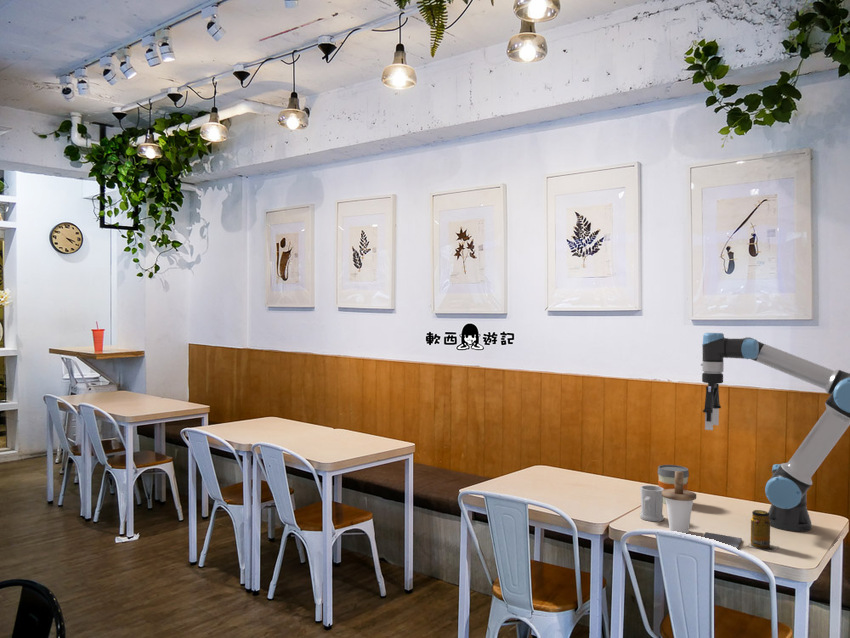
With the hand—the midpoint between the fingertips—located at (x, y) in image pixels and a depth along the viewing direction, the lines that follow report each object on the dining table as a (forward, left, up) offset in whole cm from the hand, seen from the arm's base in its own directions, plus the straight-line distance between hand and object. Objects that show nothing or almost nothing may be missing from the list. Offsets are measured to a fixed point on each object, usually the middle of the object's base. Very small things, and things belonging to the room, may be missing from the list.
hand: (711, 427), depth 261 cm
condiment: (-20, +20, -37) cm, 47 cm away
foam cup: (+8, +19, -37) cm, 42 cm away
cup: (+20, +9, -37) cm, 43 cm away
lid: (+8, +19, -24) cm, 31 cm away
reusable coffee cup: (+18, -19, -37) cm, 45 cm away
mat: (-7, +23, -37) cm, 44 cm away
